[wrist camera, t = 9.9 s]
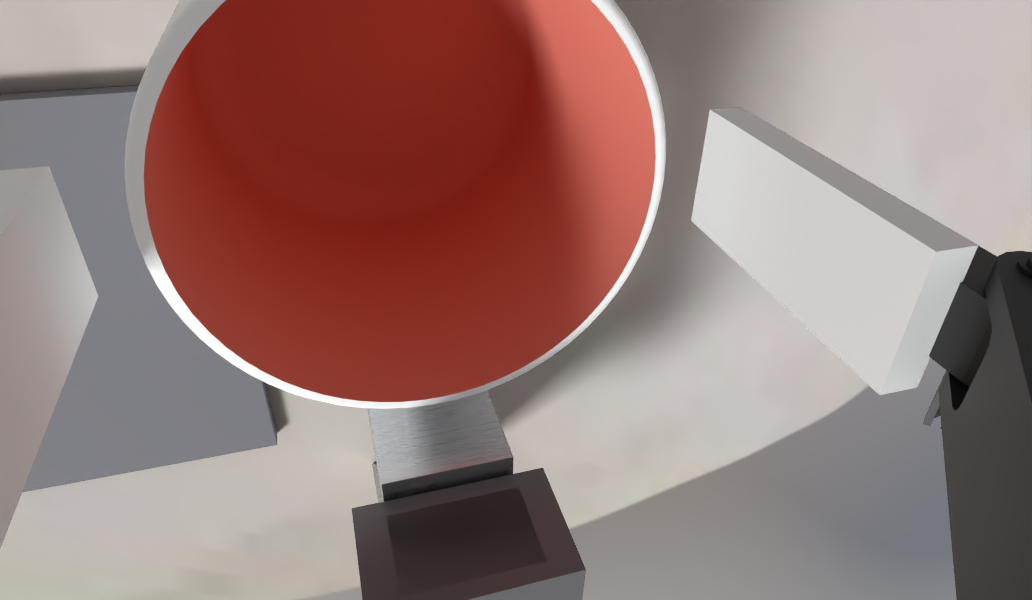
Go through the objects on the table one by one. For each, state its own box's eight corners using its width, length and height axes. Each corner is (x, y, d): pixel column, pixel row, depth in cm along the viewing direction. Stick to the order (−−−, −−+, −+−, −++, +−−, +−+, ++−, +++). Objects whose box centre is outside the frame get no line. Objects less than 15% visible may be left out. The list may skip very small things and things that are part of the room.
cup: (580, -29, 21) (763, 62, 13) (450, 246, 25) (532, 439, 17) (239, -215, 17) (210, -245, 9) (147, 156, 21) (72, 365, 13)
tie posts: (268, -261, 16) (267, -350, 8) (396, -255, 17) (530, -331, 8) (375, 487, 31) (417, 747, 22) (442, 473, 32) (507, 720, 23)
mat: (-445, 122, 16) (-466, 131, 16) (190, 82, 20) (188, 88, 19) (-140, 510, 24) (-148, 523, 24) (277, 433, 28) (277, 444, 27)
